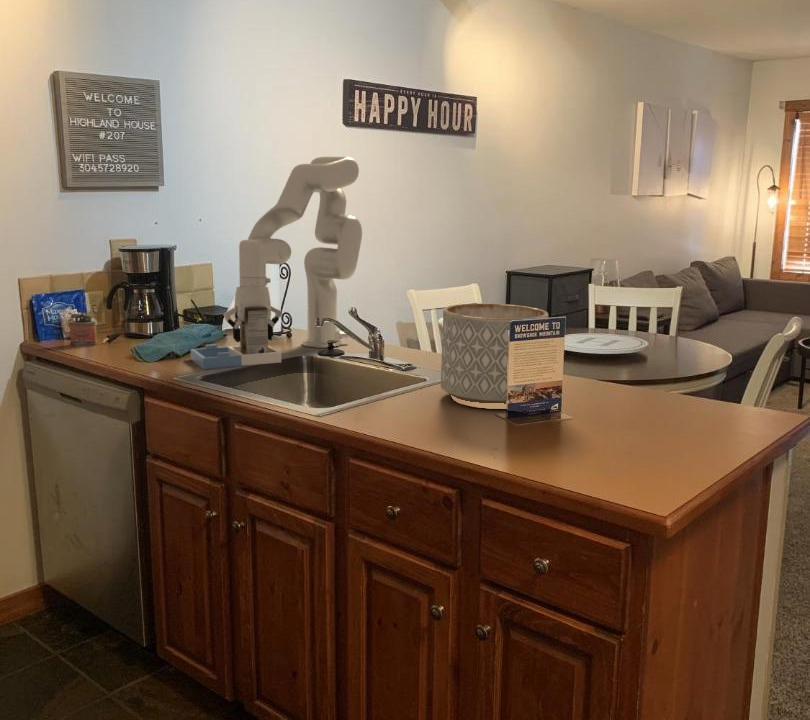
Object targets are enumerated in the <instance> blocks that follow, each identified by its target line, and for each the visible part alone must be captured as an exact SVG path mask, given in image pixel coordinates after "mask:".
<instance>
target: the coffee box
mask: <svg viewBox="0 0 810 720" xmlns="http://www.w3.org/2000/svg"><path fill="white" fill-rule="evenodd" d="M239 329H240V342H239V343H240V345H239V346H240V349H241V353H242V354H244V355H245V354H257V353H268V343H269V339H268V308H266V307H250V308H245V322H242V323H241V324H240V326H239Z"/></svg>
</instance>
